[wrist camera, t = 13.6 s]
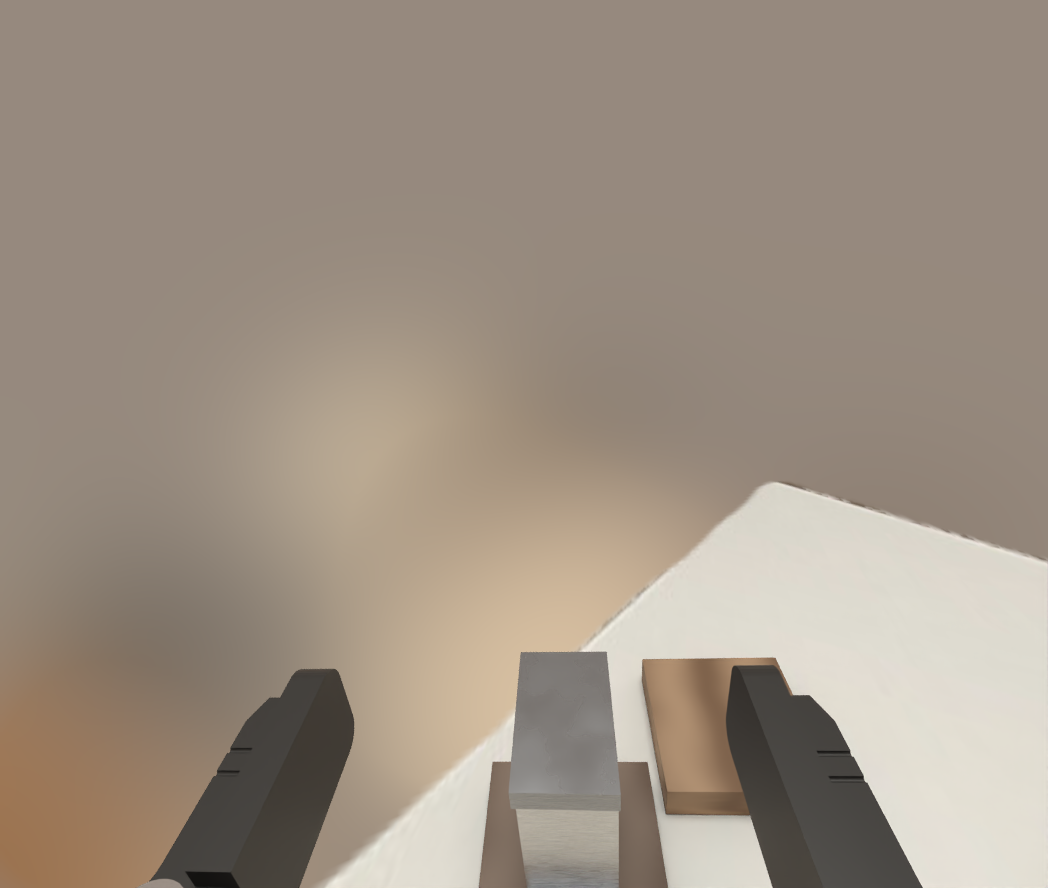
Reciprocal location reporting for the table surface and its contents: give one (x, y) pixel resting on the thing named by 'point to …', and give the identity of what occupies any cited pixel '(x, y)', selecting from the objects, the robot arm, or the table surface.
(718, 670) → the stand
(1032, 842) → the table surface
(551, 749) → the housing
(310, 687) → the robot arm
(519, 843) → the stand
